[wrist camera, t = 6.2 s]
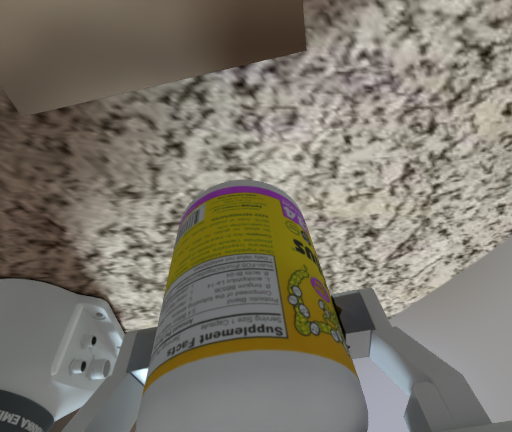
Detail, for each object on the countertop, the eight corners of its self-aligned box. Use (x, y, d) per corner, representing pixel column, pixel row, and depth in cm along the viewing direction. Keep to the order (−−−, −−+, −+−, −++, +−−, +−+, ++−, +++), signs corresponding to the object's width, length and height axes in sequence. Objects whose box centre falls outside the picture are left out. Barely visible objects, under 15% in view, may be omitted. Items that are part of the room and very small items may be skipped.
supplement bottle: (304, 259, 18) (406, 614, 8) (198, 275, 18) (159, 644, 8) (300, 162, 14) (504, 645, 4) (162, 184, 14) (-18, 706, 4)
